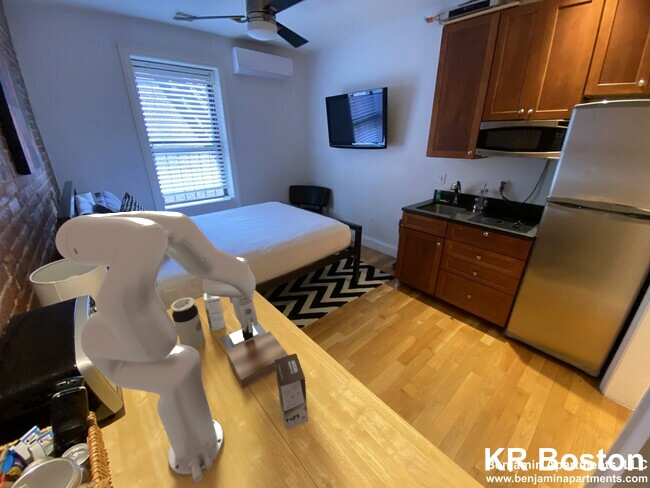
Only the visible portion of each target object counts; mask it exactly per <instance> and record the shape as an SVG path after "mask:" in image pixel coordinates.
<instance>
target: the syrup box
mask: <svg viewBox="0 0 650 488" xmlns="http://www.w3.org/2000/svg"><path fill="white" fill-rule="evenodd" d="M203 303H204V310H205V314H206V319H207V323H208V328H209V332H215V331H218V330H222V329H224V328H226V323H225V318H224V311H223V306H222V301H221V297H218V296H211V295H208V294H206V293H205V292H204V293H203Z"/></svg>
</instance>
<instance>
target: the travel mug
mask: <svg viewBox="0 0 650 488" xmlns="http://www.w3.org/2000/svg"><path fill="white" fill-rule="evenodd" d="M195 302H196V301H195V299H194V298H192V297H182V298H179V299H177V300H175V301H173V303H172V304H171V305H170V309H171V310H172V313H171V316H172V317H171V318H172V321H173V323H174V325H175V327H176V330H177V335H178V341H179V344H183V345H187V346H190V347H193V348H194V349H196V350H197V351H198V349H201V348H202V347H203V345H204V344H206V337H205V333H204V329H203V325H202V321H201V317H200V313H199V309H198V306H197V305H196V303H195Z"/></svg>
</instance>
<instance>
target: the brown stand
mask: <svg viewBox="0 0 650 488" xmlns="http://www.w3.org/2000/svg"><path fill="white" fill-rule="evenodd" d="M226 354H227V358H228V359H227V360H228V362H229V364H230V366H231V368H232V370H233V372H234V374H235V376H236V377H237V379H238V380H237V381H238V382H239V384H240V387H241V388H242V389H243V390H244V389H246V388H247V387H250V386H252V384H255V383H257V382H258V381H260V380H262V379H264V378H266V377H268V376H270V375H271V374H273V373H276V369H275V361H274V360H276V359H280V358H282V357H284V356H288V355H289V354H288V352H287V351H286V350H285V349H284V347H283V346H282V344H281V343H280V342H279V341H278V339H277V338H276V337H275V336H274V334H273V333H272V331H270V330H269V331H267V332H266V333H265V334H263V335H260V336H258V337H256V338H254V339H252V340H249V341H247V342H245V343H243V344H240V345H238V346H236V347H234V348H232V349H229V350H227V349H226Z"/></svg>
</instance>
